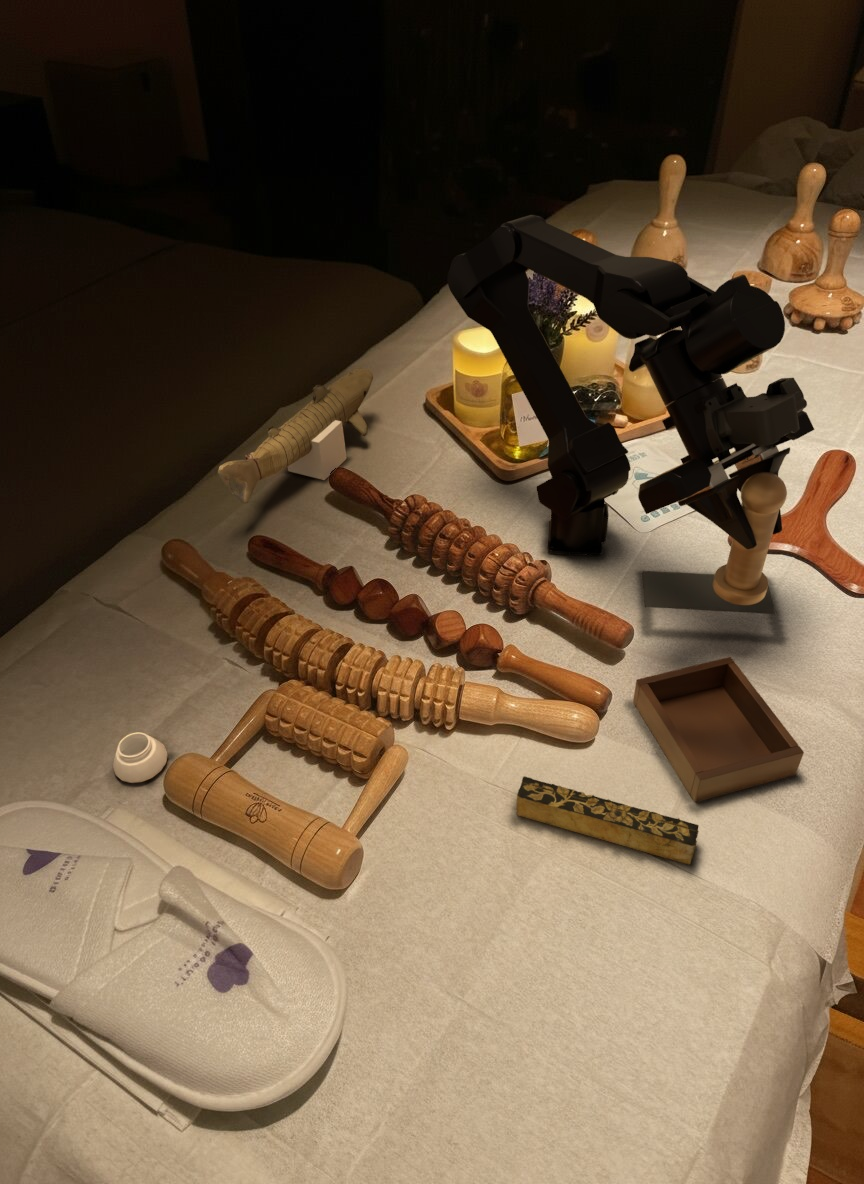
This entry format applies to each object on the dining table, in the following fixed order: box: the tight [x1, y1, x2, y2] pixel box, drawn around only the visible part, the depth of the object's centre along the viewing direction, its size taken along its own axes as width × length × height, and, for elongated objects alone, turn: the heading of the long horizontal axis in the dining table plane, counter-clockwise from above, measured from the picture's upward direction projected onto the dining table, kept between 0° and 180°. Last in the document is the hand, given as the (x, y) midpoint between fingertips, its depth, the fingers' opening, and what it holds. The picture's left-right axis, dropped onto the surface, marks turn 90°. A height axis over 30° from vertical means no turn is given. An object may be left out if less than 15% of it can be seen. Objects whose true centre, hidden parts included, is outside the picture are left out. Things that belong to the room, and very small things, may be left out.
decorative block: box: [516, 775, 700, 866], centre depth 75 cm, size 15×2×4 cm, turn 69°
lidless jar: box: [112, 731, 169, 784], centre depth 83 cm, size 5×3×5 cm
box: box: [632, 656, 805, 803], centre depth 82 cm, size 13×10×4 cm
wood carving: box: [217, 367, 374, 504], centre depth 119 cm, size 9×35×11 cm, turn 153°
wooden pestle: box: [713, 472, 788, 605], centre depth 84 cm, size 5×5×14 cm
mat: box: [642, 570, 776, 615], centre depth 98 cm, size 14×10×1 cm
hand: (764, 540), depth 83 cm, fingers closed on wooden pestle, 3 cm apart
